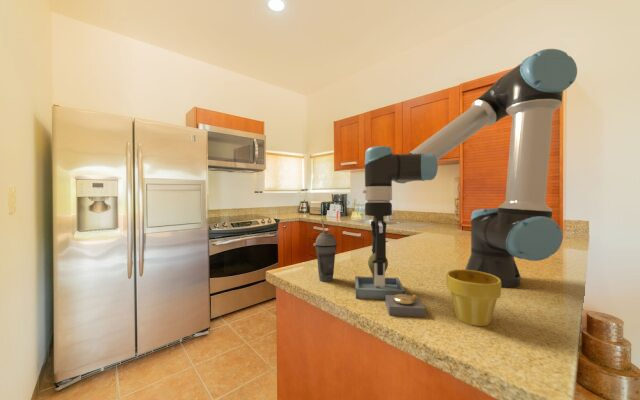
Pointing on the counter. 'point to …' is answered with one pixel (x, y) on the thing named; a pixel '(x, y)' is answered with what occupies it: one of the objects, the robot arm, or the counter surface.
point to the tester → (404, 307)
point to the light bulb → (372, 266)
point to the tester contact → (404, 299)
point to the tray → (369, 291)
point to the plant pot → (473, 295)
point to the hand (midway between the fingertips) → (378, 281)
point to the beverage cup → (325, 255)
